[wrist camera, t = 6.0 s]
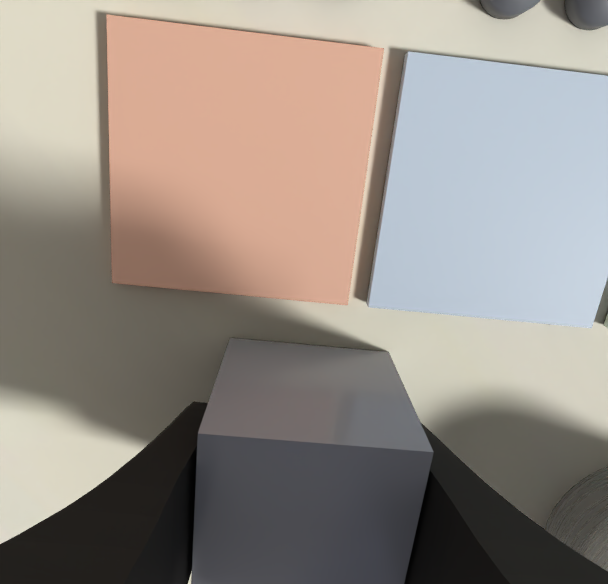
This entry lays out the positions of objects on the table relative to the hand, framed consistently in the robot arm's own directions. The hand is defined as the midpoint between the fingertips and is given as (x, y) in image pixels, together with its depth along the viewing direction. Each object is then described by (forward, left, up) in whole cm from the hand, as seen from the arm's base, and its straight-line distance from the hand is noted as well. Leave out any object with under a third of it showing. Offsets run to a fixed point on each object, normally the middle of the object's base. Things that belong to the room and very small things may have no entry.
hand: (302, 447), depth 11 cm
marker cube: (0, 0, -1) cm, 1 cm away
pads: (+7, -4, -1) cm, 8 cm away
